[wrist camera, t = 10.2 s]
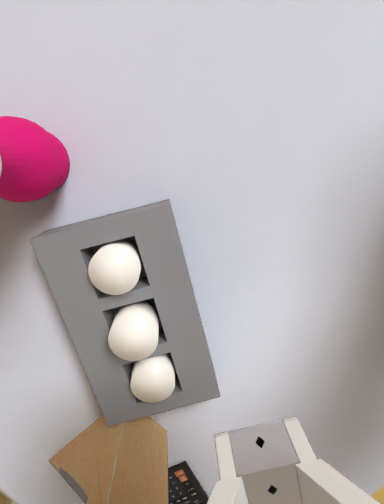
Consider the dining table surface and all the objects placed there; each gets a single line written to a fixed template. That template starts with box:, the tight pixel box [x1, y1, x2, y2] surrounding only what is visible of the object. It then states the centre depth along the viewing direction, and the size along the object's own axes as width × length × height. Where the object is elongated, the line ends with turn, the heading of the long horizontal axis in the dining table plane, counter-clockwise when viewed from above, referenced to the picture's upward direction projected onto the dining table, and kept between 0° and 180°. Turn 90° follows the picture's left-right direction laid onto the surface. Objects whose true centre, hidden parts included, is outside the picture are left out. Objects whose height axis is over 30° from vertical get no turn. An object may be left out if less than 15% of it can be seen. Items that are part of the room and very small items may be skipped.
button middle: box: [108, 300, 159, 361], centre depth 32 cm, size 5×5×4 cm
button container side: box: [130, 352, 175, 403], centre depth 35 cm, size 5×5×4 cm
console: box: [30, 199, 220, 426], centre depth 34 cm, size 14×24×4 cm, turn 14°
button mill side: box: [88, 238, 143, 295], centre depth 31 cm, size 5×5×4 cm
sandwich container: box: [49, 416, 168, 504], centre depth 35 cm, size 9×15×15 cm, turn 131°
